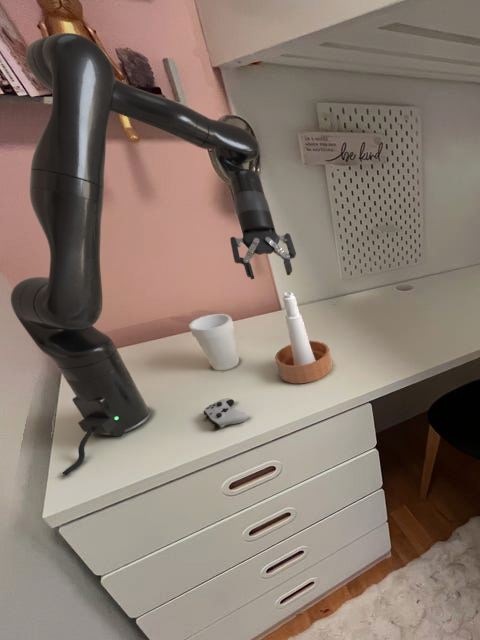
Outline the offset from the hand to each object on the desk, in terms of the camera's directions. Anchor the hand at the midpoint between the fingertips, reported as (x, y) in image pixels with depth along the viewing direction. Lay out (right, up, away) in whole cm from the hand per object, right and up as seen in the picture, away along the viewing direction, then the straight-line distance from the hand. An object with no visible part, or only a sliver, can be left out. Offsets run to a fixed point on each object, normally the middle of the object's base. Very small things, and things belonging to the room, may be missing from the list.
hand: (271, 276), depth 103 cm
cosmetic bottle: (+7, -24, +5) cm, 26 cm away
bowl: (+7, -24, +5) cm, 26 cm away
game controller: (-4, -35, -12) cm, 37 cm away
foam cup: (-16, -23, +7) cm, 29 cm away
